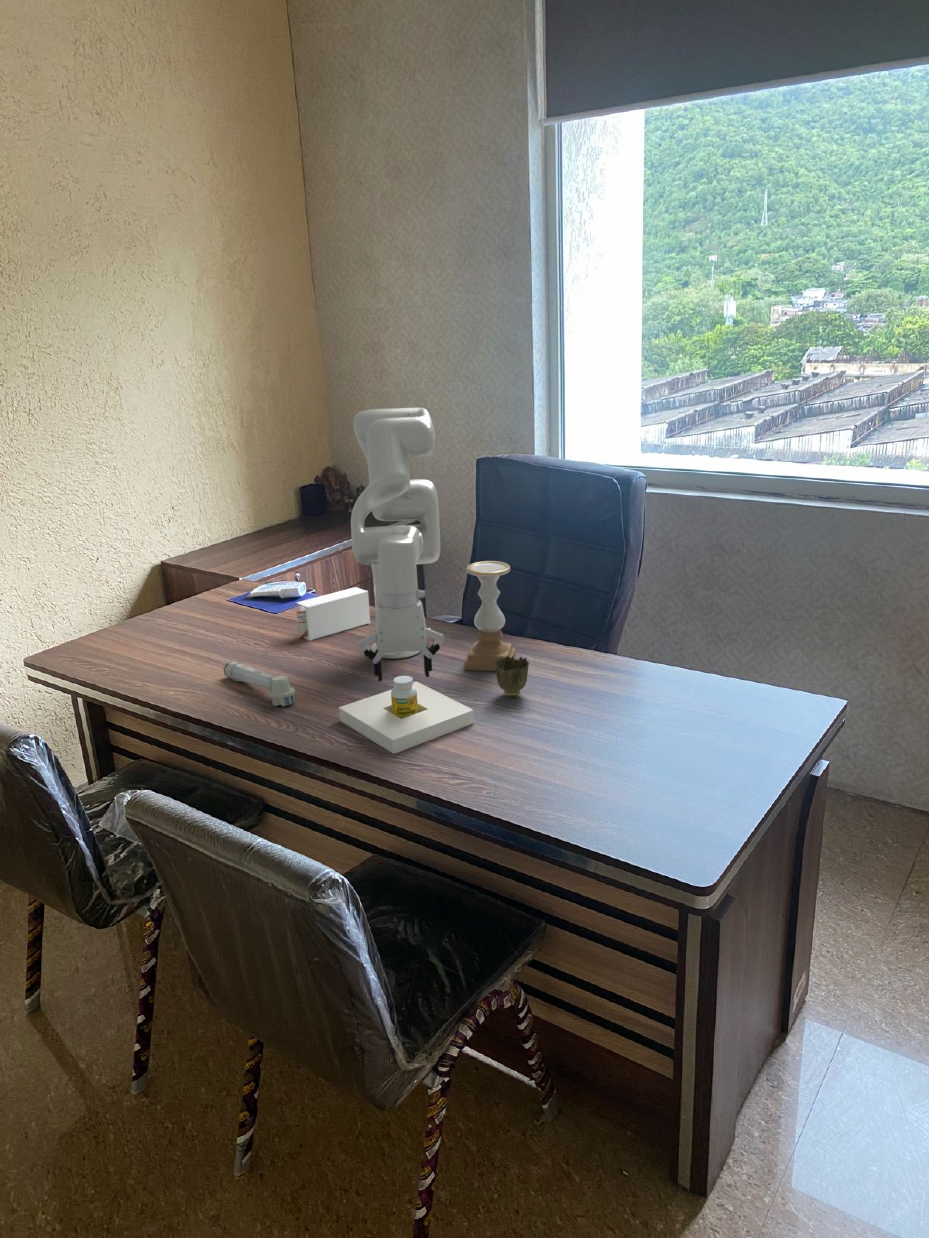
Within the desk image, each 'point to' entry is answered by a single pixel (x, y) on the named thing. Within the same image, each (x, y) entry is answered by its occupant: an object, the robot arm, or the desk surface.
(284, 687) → the toothbrush head
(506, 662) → the cup
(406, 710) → the supplement bottle
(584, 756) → the desk surface
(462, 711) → the hole board
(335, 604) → the white box
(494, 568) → the candle holder
